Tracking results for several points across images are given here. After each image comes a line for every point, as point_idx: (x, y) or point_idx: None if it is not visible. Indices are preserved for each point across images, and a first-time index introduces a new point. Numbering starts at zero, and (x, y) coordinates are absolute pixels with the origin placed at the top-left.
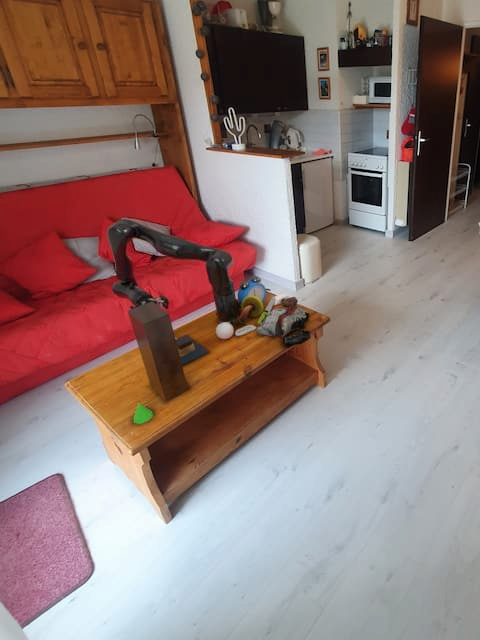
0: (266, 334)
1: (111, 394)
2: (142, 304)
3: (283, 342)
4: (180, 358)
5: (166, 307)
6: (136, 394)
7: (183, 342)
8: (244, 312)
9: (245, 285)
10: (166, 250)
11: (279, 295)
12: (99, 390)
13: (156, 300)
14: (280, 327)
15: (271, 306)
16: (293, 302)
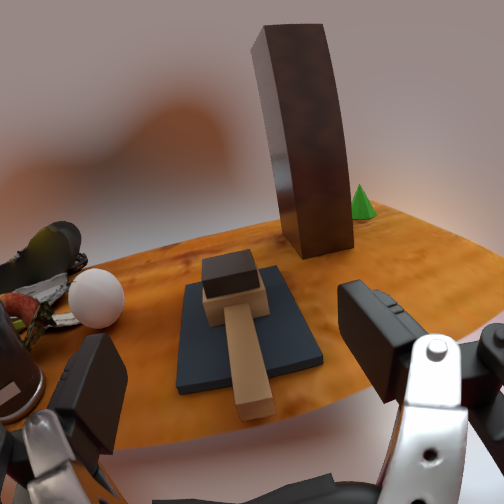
0: (65, 287)
1: (436, 247)
2: (425, 477)
3: (81, 262)
4: (264, 282)
5: (116, 352)
6: (382, 239)
7: (229, 256)
8: (16, 293)
9: None
10: None
11: None
12: (470, 258)
13: (74, 476)
14: (72, 224)
15: None
16: None
